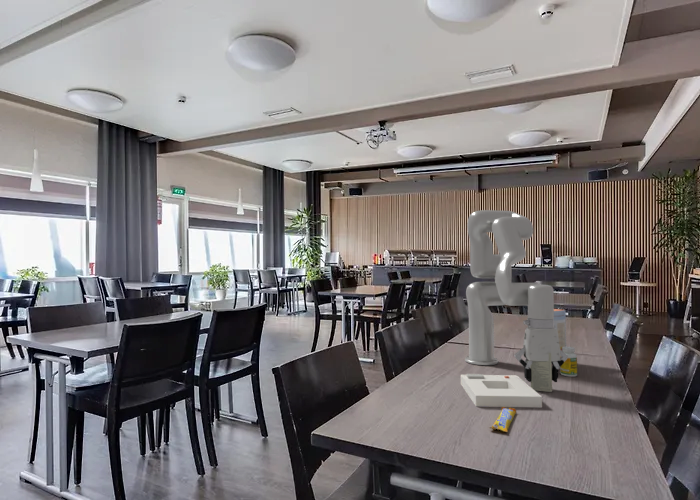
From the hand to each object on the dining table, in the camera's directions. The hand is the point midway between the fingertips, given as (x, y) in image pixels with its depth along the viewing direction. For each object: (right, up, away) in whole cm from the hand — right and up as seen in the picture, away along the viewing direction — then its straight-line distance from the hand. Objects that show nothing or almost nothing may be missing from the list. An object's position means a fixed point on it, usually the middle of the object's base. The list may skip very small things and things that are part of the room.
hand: (541, 380), depth 139 cm
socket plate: (-15, -3, -5) cm, 16 cm away
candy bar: (-21, -3, -27) cm, 34 cm away
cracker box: (+17, -3, +33) cm, 37 cm away
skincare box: (0, -3, 0) cm, 3 cm away
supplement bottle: (+17, -3, +17) cm, 24 cm away
